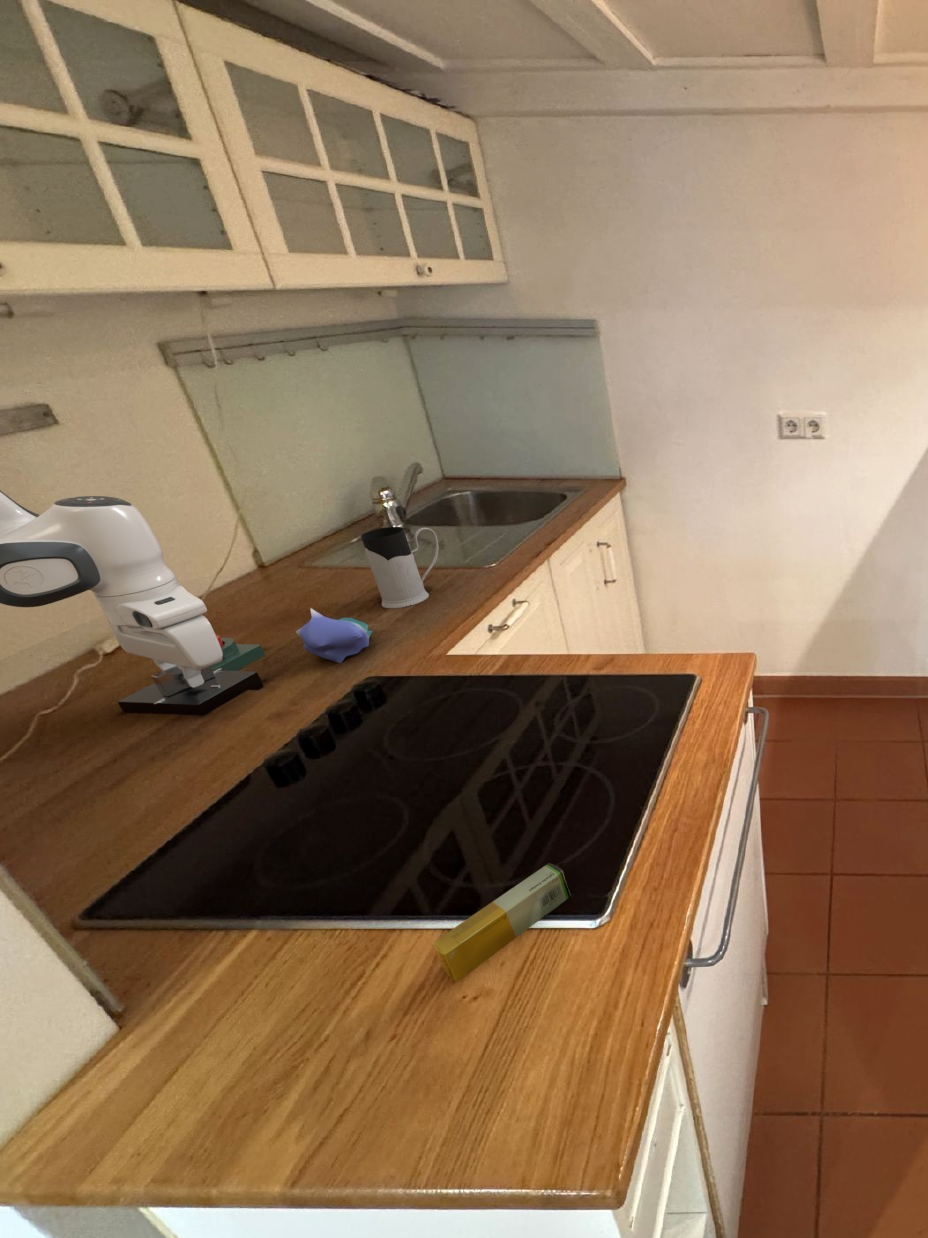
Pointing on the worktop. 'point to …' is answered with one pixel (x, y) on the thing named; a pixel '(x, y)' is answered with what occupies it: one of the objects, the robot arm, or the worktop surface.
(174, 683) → the grey switch lever
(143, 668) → the worktop surface
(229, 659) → the green control housing
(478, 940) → the medication box
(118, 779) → the worktop surface
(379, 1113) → the worktop surface
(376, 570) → the glass holder
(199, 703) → the base
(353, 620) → the figurine
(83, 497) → the robot arm
